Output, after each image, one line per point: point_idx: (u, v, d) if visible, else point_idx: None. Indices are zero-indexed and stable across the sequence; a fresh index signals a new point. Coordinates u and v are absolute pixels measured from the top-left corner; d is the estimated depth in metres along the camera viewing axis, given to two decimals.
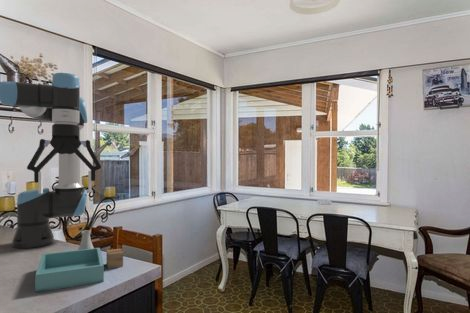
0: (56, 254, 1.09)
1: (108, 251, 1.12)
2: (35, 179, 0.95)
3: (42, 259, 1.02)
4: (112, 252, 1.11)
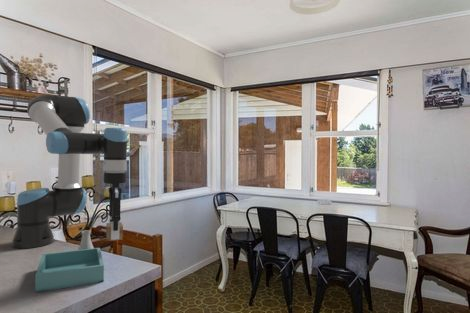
0: (56, 254, 1.09)
1: (108, 224, 1.12)
2: None
3: (42, 259, 1.02)
4: None
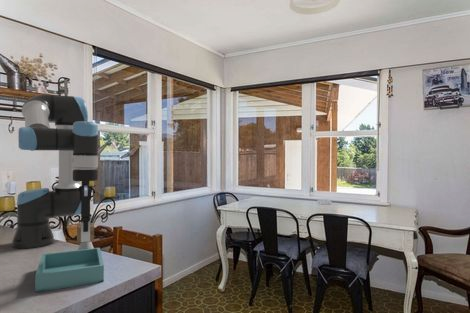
0: (56, 254, 1.09)
1: (78, 225, 1.04)
2: None
3: (42, 259, 1.02)
4: None
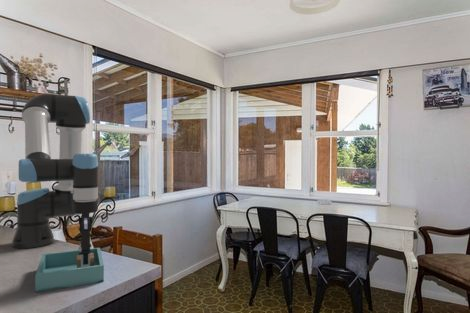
0: (56, 254, 1.09)
1: (78, 256, 1.04)
2: None
3: (42, 259, 1.02)
4: None
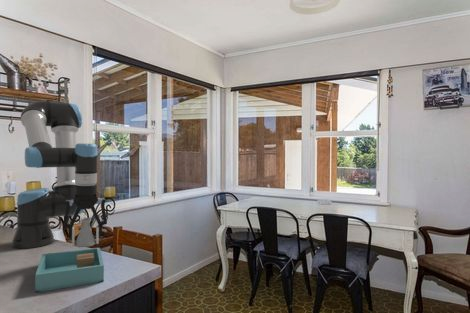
0: (56, 254, 1.09)
1: (78, 256, 1.04)
2: (69, 234, 1.17)
3: (42, 259, 1.02)
4: (82, 257, 1.03)
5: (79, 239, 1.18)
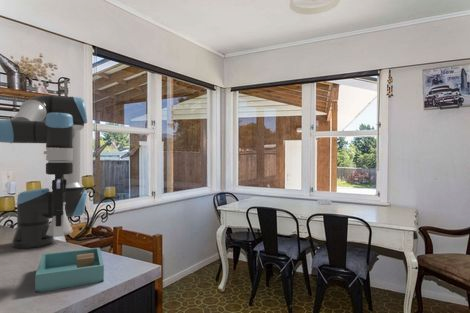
0: (56, 254, 1.09)
1: (78, 256, 1.04)
2: None
3: (42, 259, 1.02)
4: (82, 257, 1.03)
5: None
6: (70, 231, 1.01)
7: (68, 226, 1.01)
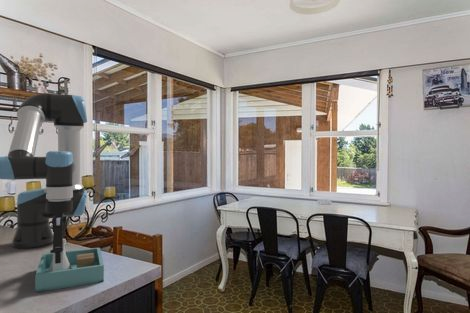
0: None
1: (78, 256, 1.04)
2: None
3: (42, 259, 1.02)
4: (82, 257, 1.03)
5: None
6: None
7: (68, 267, 1.01)
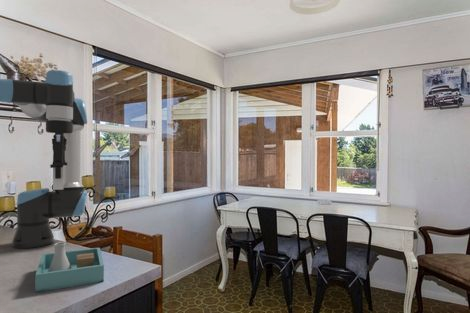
0: None
1: (78, 256, 1.04)
2: None
3: (42, 259, 1.02)
4: (82, 257, 1.03)
5: None
6: None
7: (68, 267, 1.01)
